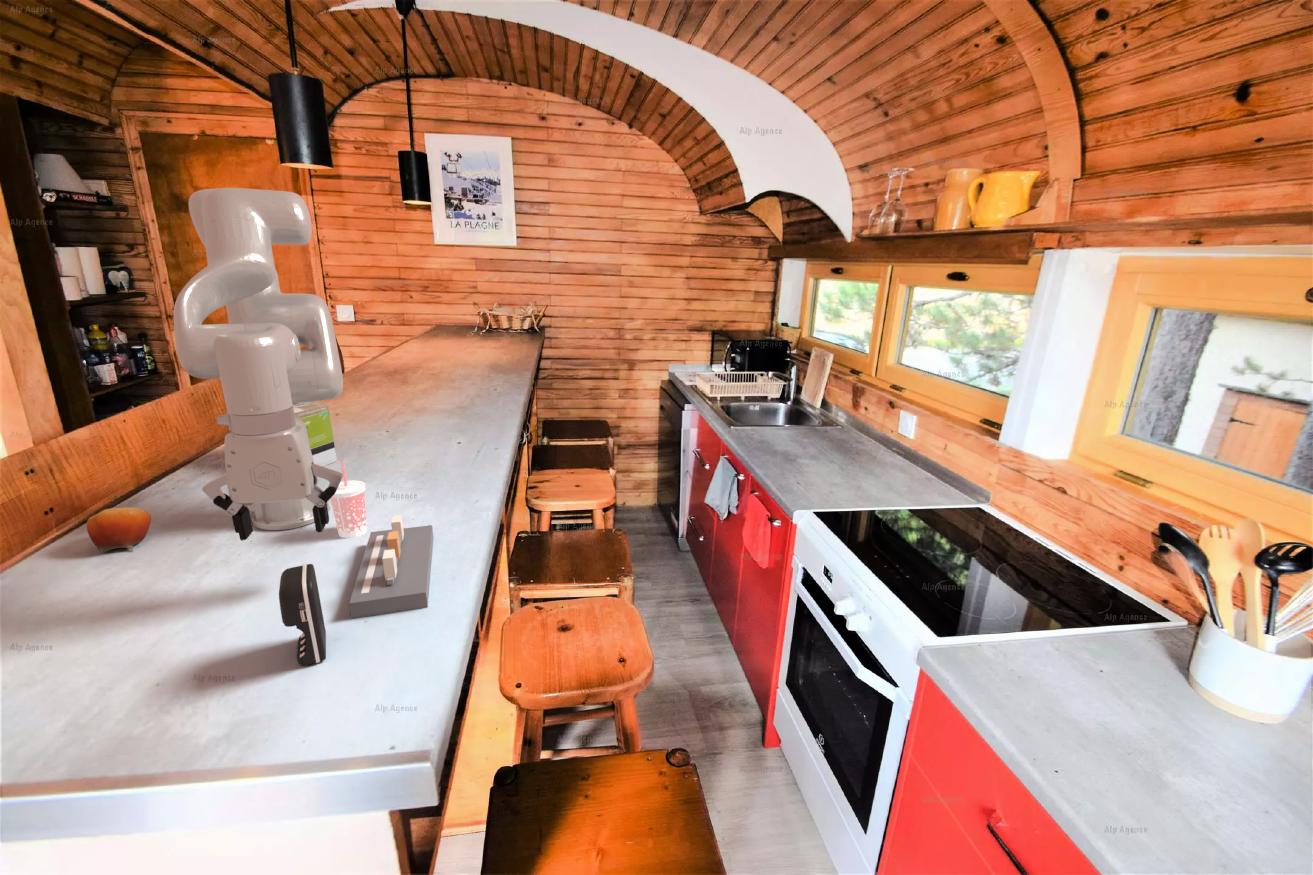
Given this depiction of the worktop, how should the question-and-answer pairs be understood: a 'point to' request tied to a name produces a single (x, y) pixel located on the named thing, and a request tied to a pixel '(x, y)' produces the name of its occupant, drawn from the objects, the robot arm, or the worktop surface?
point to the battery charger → (303, 612)
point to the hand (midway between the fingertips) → (284, 532)
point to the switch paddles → (393, 549)
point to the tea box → (318, 431)
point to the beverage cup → (349, 507)
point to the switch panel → (410, 577)
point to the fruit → (118, 528)
